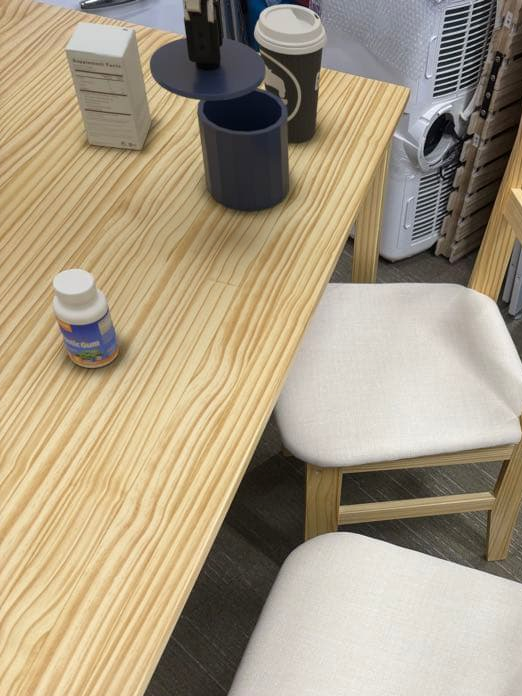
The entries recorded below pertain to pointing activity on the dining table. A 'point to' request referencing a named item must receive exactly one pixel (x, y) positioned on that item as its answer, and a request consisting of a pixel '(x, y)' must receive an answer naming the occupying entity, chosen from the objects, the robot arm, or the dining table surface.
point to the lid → (208, 71)
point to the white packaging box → (109, 85)
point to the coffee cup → (293, 63)
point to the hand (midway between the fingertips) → (206, 51)
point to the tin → (245, 150)
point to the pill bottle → (84, 319)
